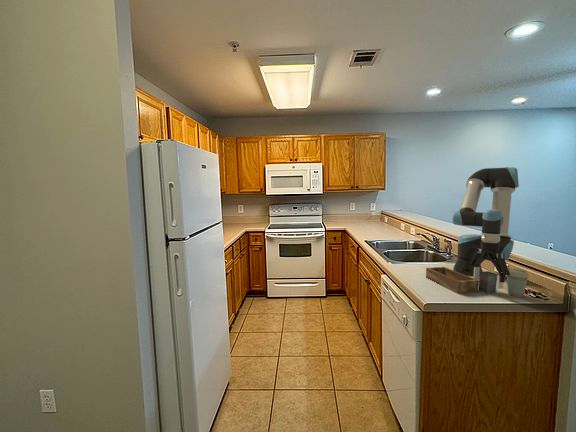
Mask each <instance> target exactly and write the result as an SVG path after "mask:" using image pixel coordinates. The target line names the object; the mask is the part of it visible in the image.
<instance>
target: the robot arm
mask: <svg viewBox="0 0 576 432" xmlns="http://www.w3.org/2000/svg"><path fill="white" fill-rule="evenodd" d="M519 186H520V185H519V173H518V169H517V167H515V166H514V167H486V168H481V169H479V170H477V171H475V172H474V173H473V174H471V175H470V176H469V177H468V178H467V181H466V183H465V189H466V190H465V193H464V195H463V198H462V201H461V204H460V208H459V210H458V211H453V214H452V223H453V224H454V225H456V226H465V227H477V228H478V227H479V228H480V227H481V234H474V233H473V234H472V233H469V234H462V235H459V236H458V240H457V253H456V254H457V255H456V257H457V258H456V260H455V263H454V265H453V268H452V270H454V271H456V272H459V273H461V274H464V275H466V276H469V277H471V276H473V277H472V278H474V279H477V280H479V274H480V272H484V271H483V270H484V269H482V264H483V262H484V261H486V260H487V261H488V262H491V263H492V264H493V265H494V267H495V269H496V271H497V283H496V290H497V289H498V290H500V289H504V283H505V280H506V277H507V275H510V273H509V270H508V269H509V268H508V264H507V261H508V260H510V258H511V256H510V254H511V255H512V253H511V252H513V248H514V243H515V241H514V240H512V237H511V236H510V235H509V228H510V227H509V226H510V215H511V214H510V213H511V206H512V205H511V203H512V194H513V193H514V192H515V191H516V189H517V188H519ZM485 188H490V191H491V192H492V205H491V209H485V210H483V212H478V211H477V208H478V204H479V200H480V197H481V194H482V193H481V192H482V191H483V190H484V189H485ZM476 211H477V212H476ZM509 257H510V258H509Z"/></svg>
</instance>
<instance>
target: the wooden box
mask: <svg viewBox="0 0 576 432" xmlns="http://www.w3.org/2000/svg"><path fill="white" fill-rule="evenodd" d="M425 270H426V271H425V278H426V279H427V278H428V279H427V280H429V279H430V280H429V281H431V280H432V282H433V281H434V282H433V283H435V282H436V283H435V284H437V285H440V286H442V287H443V288H446V289H447V290H450V291H452V292H454V293H455V294H457V295H459V294H470V293H471V294H472V293H479V291H478V290H479V280H477V279H474V278H473V277H471V276H470V275H464V274H461V273H459V272H456V271H454V270H453V269H451V268H448V267H447V266H436V267H426V268H425Z"/></svg>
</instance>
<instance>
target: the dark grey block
mask: <svg viewBox="0 0 576 432" xmlns="http://www.w3.org/2000/svg"><path fill="white" fill-rule="evenodd" d="M497 277H498V273H495V272H492V271H487V270H486V271H483V272H480V274H479V287H478V292H481V293H482V294H483V293H484V294H486V295H494V294H495V295H496V294H497Z"/></svg>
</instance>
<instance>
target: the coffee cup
mask: <svg viewBox="0 0 576 432" xmlns="http://www.w3.org/2000/svg"><path fill="white" fill-rule="evenodd" d="M508 270H509V273H510V275H506V281H507V282H506V283H507V284H506V285H507V286H506V287H507V294H508V295H509V296H511V297H515V298H523V297H524V295H525V291H526V287H527V284H528V283H527V282H528V278H530V276H529V273H528V271H526V270H523V269H518V268H508Z"/></svg>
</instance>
